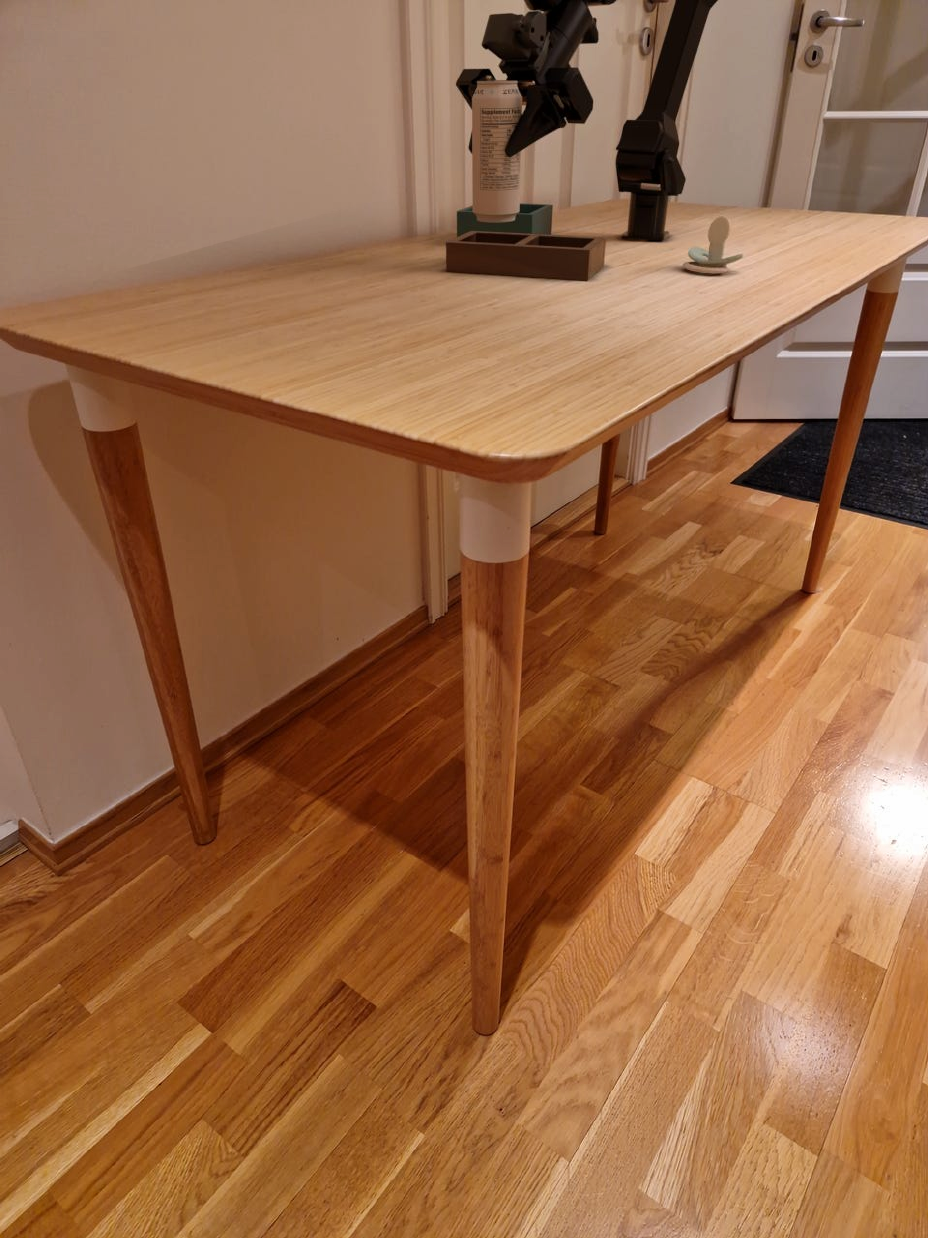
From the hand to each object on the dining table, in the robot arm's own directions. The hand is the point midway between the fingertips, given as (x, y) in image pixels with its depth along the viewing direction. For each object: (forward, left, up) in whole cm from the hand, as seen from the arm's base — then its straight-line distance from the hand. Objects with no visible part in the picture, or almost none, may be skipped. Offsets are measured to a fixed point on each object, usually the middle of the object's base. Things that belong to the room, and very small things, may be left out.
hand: (488, 152), depth 103 cm
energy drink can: (-1, +1, -8) cm, 8 cm away
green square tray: (-22, -4, -13) cm, 26 cm away
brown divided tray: (-1, +5, -13) cm, 14 cm away
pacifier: (-7, +28, -13) cm, 32 cm away
